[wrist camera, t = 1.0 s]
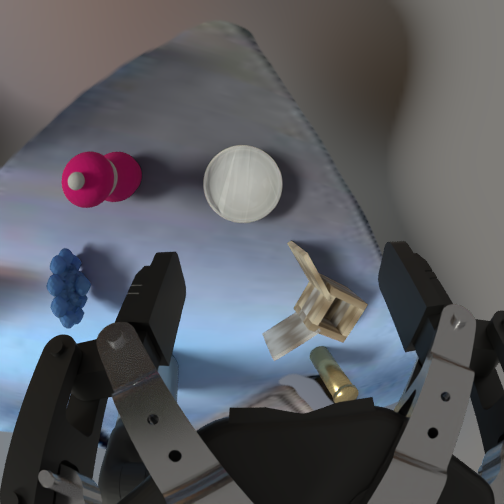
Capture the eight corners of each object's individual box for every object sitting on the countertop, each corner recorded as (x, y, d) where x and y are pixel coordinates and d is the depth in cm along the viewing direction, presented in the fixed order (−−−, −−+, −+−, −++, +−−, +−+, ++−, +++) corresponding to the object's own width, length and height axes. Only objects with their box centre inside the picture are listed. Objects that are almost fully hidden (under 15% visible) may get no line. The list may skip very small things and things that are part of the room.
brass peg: (321, 365, 58) (348, 407, 45) (304, 359, 57) (330, 404, 44) (332, 348, 58) (363, 389, 44) (316, 342, 57) (345, 385, 43)
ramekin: (192, 161, 44) (192, 160, 39) (260, 138, 45) (268, 134, 40) (217, 228, 47) (219, 235, 42) (282, 203, 48) (292, 207, 43)
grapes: (110, 303, 47) (90, 338, 36) (78, 307, 46) (53, 341, 35) (94, 238, 44) (65, 259, 32) (61, 245, 43) (27, 266, 32)
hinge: (306, 351, 57) (320, 374, 49) (239, 327, 52) (246, 351, 45) (354, 274, 54) (376, 290, 46) (289, 239, 50) (305, 252, 42)
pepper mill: (153, 180, 43) (121, 188, 24) (118, 208, 43) (67, 234, 24) (129, 144, 41) (82, 127, 22) (94, 172, 41) (31, 176, 22)
